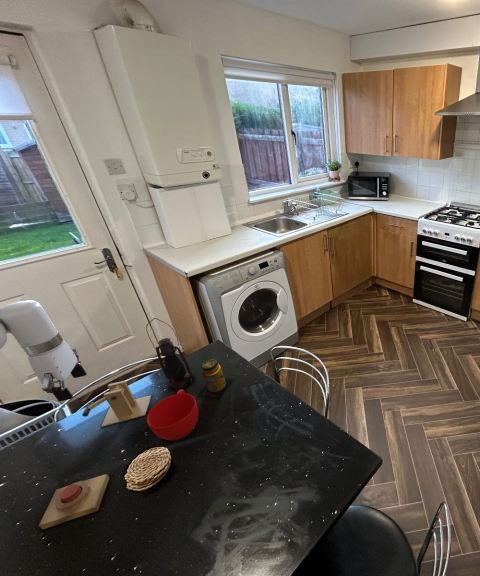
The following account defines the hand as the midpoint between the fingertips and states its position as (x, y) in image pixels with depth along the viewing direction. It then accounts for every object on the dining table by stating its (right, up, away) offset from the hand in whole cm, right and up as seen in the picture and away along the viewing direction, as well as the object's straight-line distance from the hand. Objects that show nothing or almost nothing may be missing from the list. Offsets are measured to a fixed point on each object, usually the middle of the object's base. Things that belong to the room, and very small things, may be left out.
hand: (73, 387), depth 94 cm
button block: (+14, -26, -12) cm, 32 cm away
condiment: (+31, -8, +22) cm, 39 cm away
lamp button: (+14, -23, -14) cm, 30 cm away
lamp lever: (+3, -7, +8) cm, 11 cm away
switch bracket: (+6, -13, +12) cm, 19 cm away
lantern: (+17, -6, +24) cm, 30 cm away
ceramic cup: (+28, -15, +8) cm, 33 cm away
